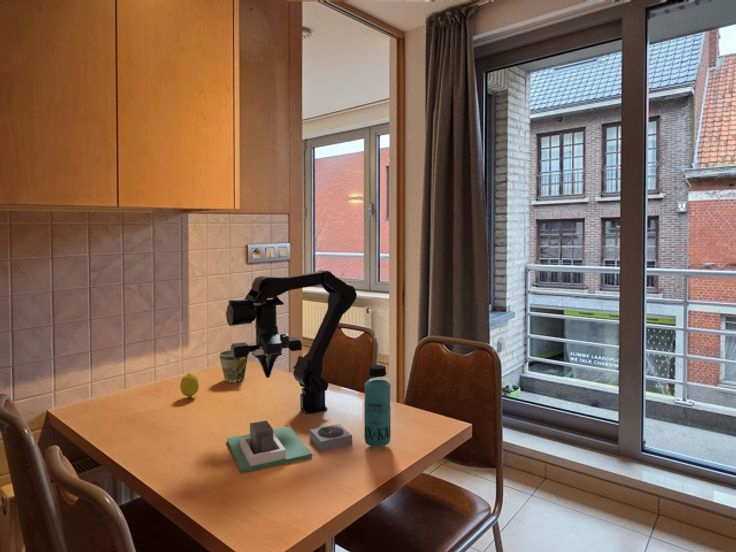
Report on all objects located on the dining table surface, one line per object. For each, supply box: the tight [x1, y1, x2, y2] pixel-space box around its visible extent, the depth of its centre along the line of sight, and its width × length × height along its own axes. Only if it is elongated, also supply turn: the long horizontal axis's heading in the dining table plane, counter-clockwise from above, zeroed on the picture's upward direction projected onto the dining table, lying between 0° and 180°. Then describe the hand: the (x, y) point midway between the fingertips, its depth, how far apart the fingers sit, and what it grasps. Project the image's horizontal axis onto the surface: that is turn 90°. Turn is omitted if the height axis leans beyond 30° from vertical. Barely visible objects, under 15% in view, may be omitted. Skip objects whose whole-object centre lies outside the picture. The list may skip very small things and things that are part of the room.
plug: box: [249, 420, 274, 454], centre depth 109 cm, size 4×7×6 cm, turn 26°
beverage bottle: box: [363, 364, 392, 448], centre depth 113 cm, size 6×7×20 cm
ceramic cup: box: [218, 349, 249, 383], centre depth 169 cm, size 13×10×10 cm
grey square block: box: [309, 423, 353, 453], centre depth 117 cm, size 8×8×3 cm
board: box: [226, 426, 313, 474], centre depth 113 cm, size 16×18×3 cm
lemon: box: [179, 372, 200, 399], centre depth 151 cm, size 6×6×8 cm
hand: (267, 377), depth 131 cm, fingers closed
